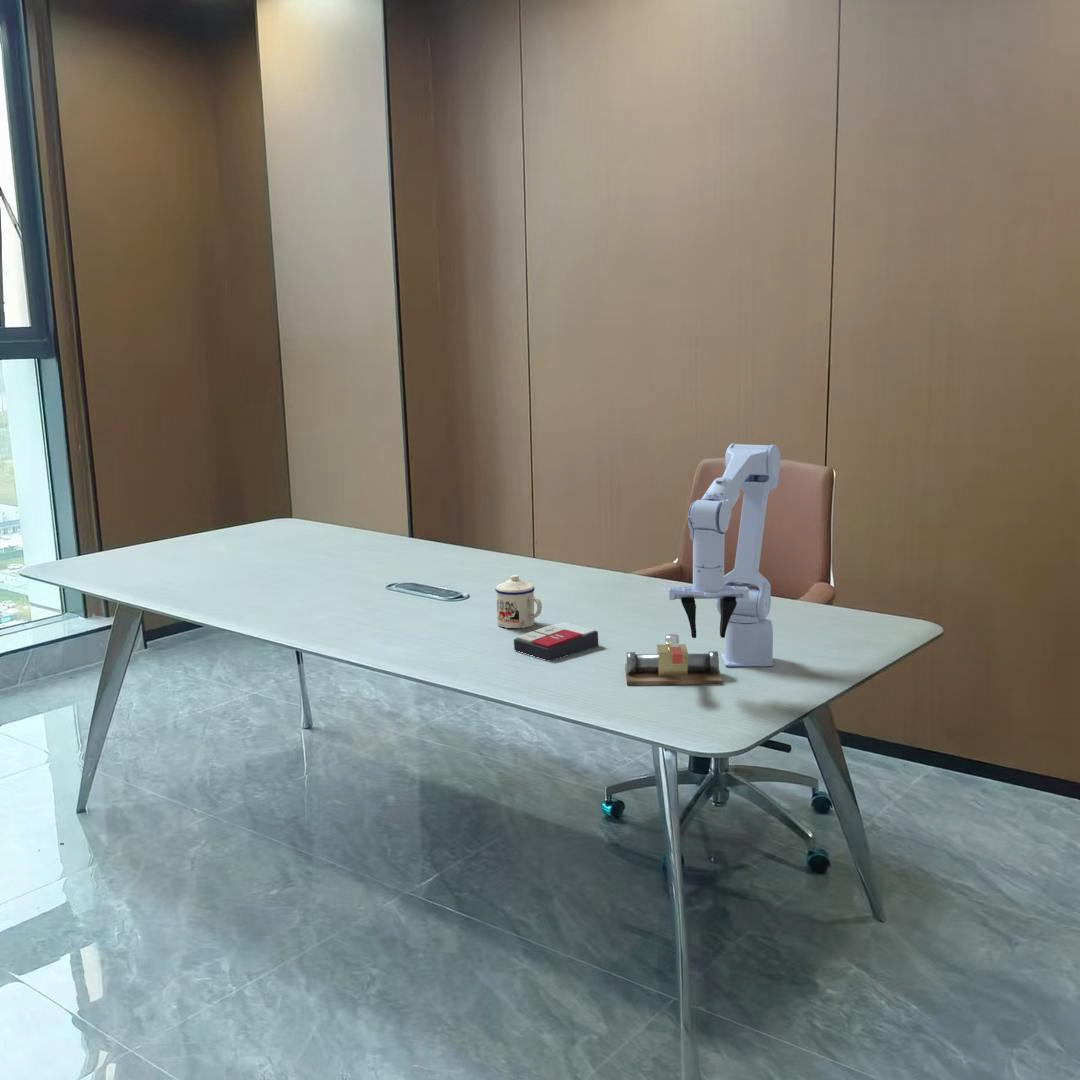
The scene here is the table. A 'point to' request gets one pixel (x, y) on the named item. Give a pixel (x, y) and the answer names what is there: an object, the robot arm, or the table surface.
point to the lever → (674, 648)
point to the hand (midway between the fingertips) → (708, 636)
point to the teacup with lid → (516, 603)
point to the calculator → (556, 641)
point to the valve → (664, 662)
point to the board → (672, 678)
